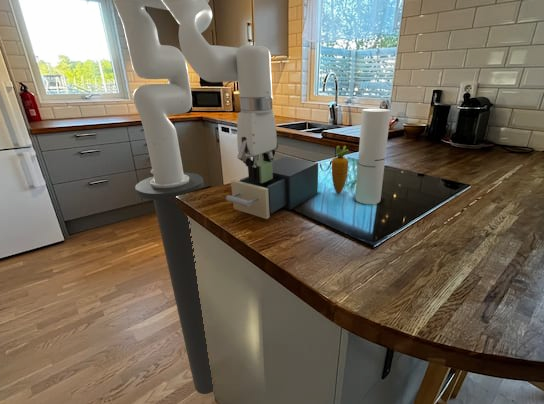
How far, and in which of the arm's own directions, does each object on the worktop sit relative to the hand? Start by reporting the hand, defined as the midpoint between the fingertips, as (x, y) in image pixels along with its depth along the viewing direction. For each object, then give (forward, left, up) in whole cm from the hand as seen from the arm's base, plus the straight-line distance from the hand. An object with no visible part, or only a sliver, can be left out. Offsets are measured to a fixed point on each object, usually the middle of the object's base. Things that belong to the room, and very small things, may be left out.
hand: (260, 178), depth 77 cm
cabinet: (0, +11, -9) cm, 14 cm away
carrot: (+12, +21, -9) cm, 26 cm away
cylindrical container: (+21, +22, -9) cm, 32 cm away
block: (0, 0, 0) cm, 0 cm away
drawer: (0, -1, -8) cm, 8 cm away
